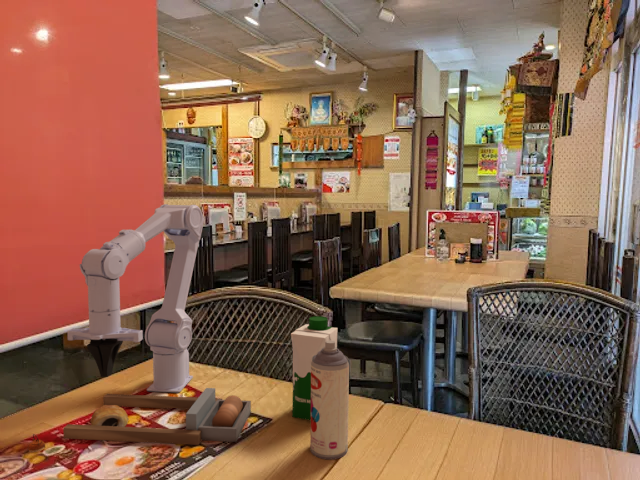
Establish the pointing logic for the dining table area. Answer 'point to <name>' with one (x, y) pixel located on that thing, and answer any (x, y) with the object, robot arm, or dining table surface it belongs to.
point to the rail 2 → (132, 434)
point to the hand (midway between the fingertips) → (106, 375)
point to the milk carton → (307, 361)
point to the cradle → (224, 433)
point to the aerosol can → (329, 402)
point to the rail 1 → (150, 401)
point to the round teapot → (36, 445)
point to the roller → (228, 412)
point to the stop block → (200, 409)
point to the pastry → (109, 416)
